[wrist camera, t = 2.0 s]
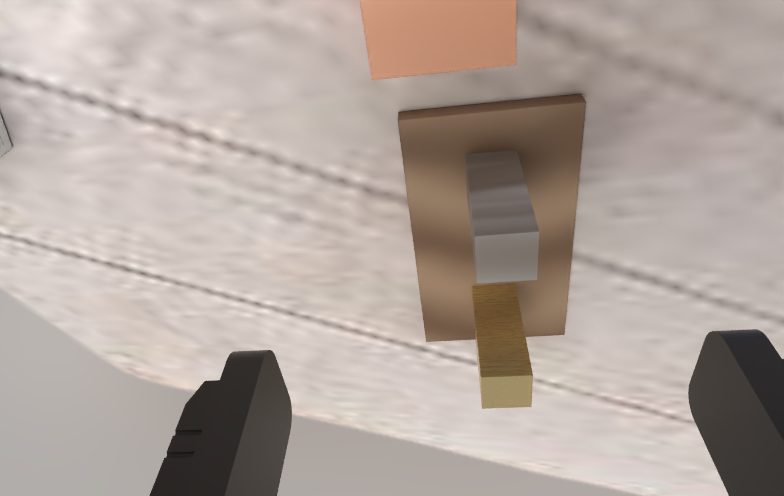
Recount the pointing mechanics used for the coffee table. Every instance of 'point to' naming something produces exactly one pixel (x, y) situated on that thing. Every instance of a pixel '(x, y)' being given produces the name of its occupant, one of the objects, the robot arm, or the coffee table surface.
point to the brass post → (501, 347)
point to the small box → (4, 139)
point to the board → (451, 208)
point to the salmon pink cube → (438, 35)
